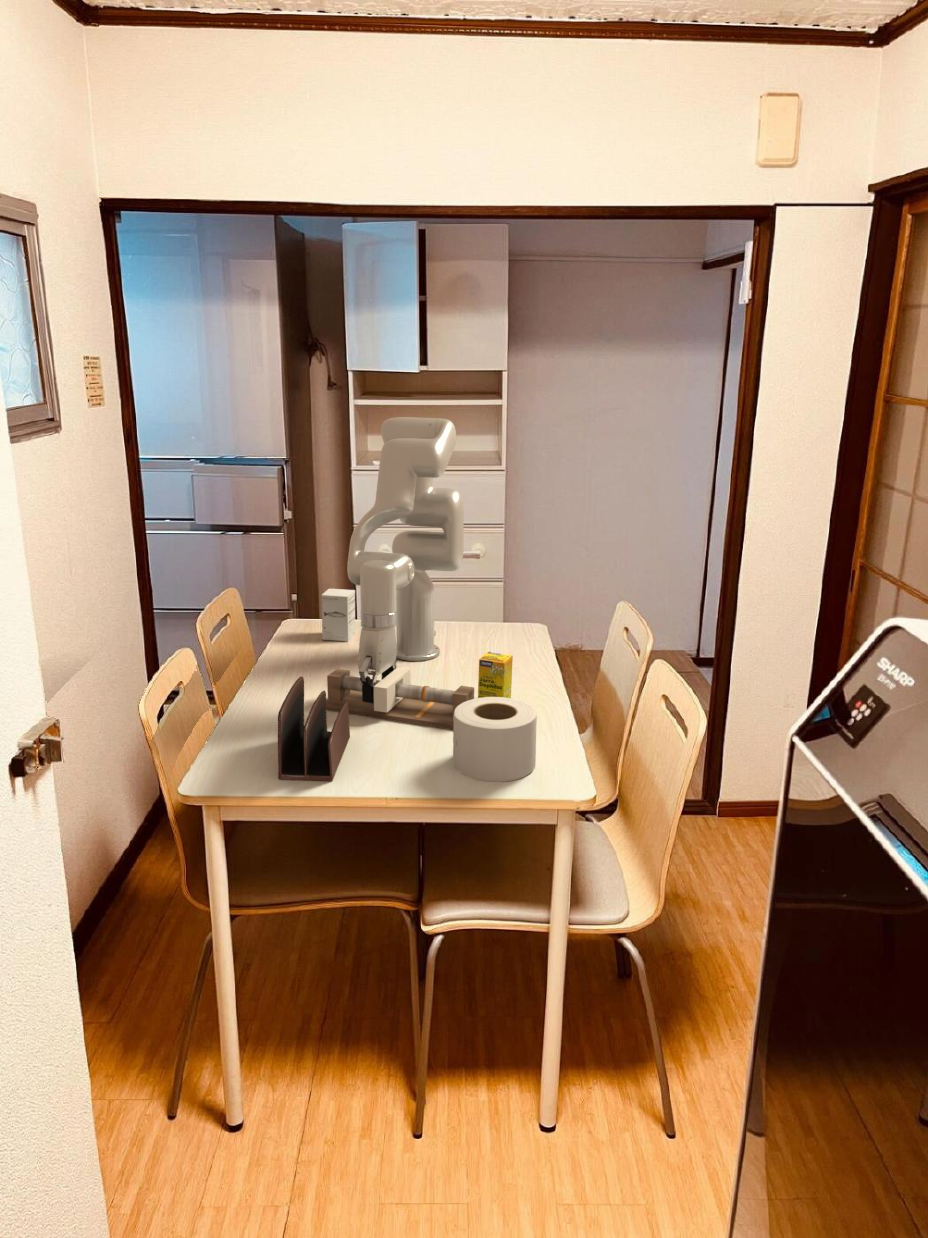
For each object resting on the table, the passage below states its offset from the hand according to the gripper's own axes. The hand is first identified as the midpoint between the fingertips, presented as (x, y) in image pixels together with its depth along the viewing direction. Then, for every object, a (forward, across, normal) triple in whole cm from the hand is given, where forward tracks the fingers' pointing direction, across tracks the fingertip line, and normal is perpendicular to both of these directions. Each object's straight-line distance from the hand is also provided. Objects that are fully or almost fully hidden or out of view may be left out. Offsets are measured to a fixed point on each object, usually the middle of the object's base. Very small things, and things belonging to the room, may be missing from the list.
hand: (379, 694), depth 199 cm
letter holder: (+3, +28, 0) cm, 28 cm away
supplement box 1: (+3, -41, -31) cm, 51 cm away
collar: (+1, 0, +3) cm, 3 cm away
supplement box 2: (+3, -11, +23) cm, 26 cm away
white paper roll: (+3, +18, +32) cm, 37 cm away
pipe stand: (+3, 0, +5) cm, 6 cm away
